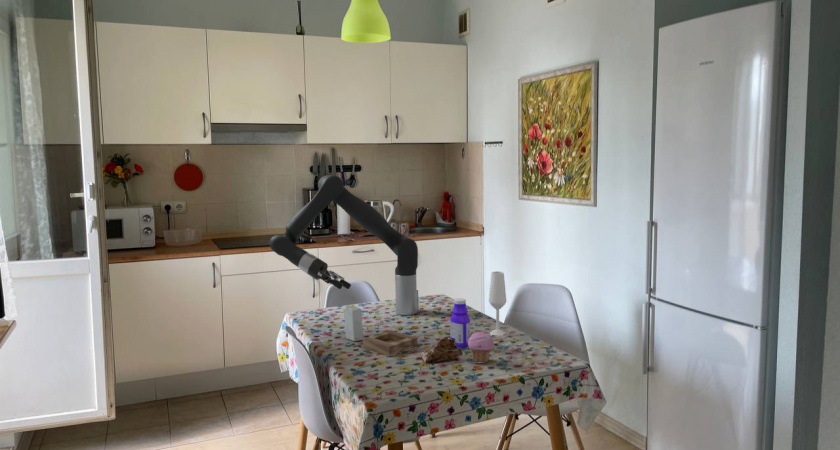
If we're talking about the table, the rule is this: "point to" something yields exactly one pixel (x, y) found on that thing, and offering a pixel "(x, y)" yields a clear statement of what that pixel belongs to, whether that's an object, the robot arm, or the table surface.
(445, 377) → the table surface
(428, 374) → the table surface
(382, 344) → the walnut socket block
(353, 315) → the skincare box
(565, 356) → the table surface
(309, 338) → the table surface
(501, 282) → the champagne flute
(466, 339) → the bottle
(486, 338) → the cupcake
